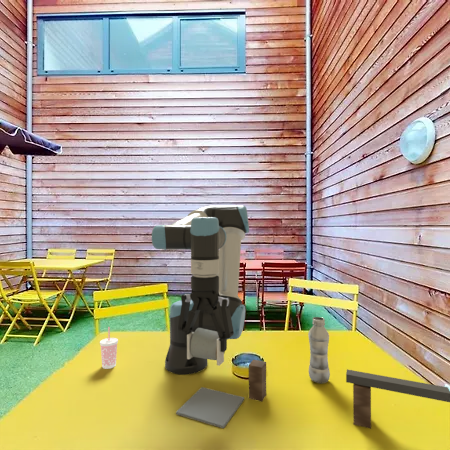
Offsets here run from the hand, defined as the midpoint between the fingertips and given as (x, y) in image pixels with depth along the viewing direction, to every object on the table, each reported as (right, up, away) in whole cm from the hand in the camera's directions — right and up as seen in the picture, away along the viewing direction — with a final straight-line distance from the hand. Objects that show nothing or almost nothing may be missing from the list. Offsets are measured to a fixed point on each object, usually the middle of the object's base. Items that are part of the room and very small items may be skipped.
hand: (205, 360), depth 82 cm
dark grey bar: (+47, -4, -7) cm, 47 cm away
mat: (+2, -14, +3) cm, 15 cm away
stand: (+27, -14, +2) cm, 31 cm away
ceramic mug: (+1, -1, +4) cm, 4 cm away
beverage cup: (-36, -15, +29) cm, 48 cm away
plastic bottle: (+36, -14, +17) cm, 42 cm away
